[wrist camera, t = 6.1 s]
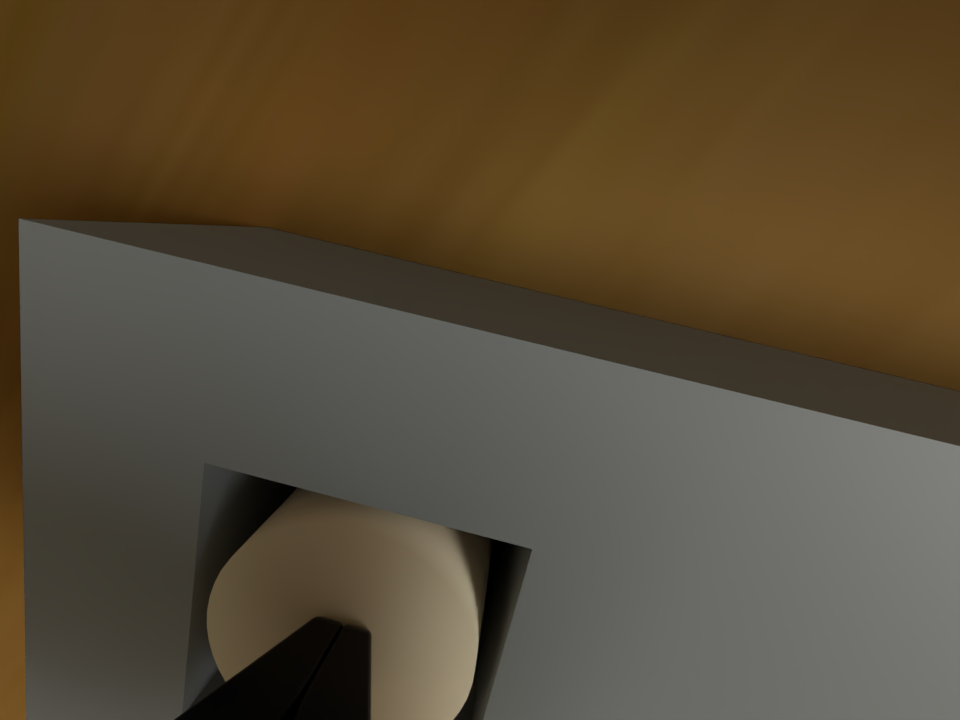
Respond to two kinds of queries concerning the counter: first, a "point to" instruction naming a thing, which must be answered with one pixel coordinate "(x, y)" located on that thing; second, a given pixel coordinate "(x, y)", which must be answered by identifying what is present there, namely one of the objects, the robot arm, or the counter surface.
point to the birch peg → (360, 597)
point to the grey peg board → (474, 481)
